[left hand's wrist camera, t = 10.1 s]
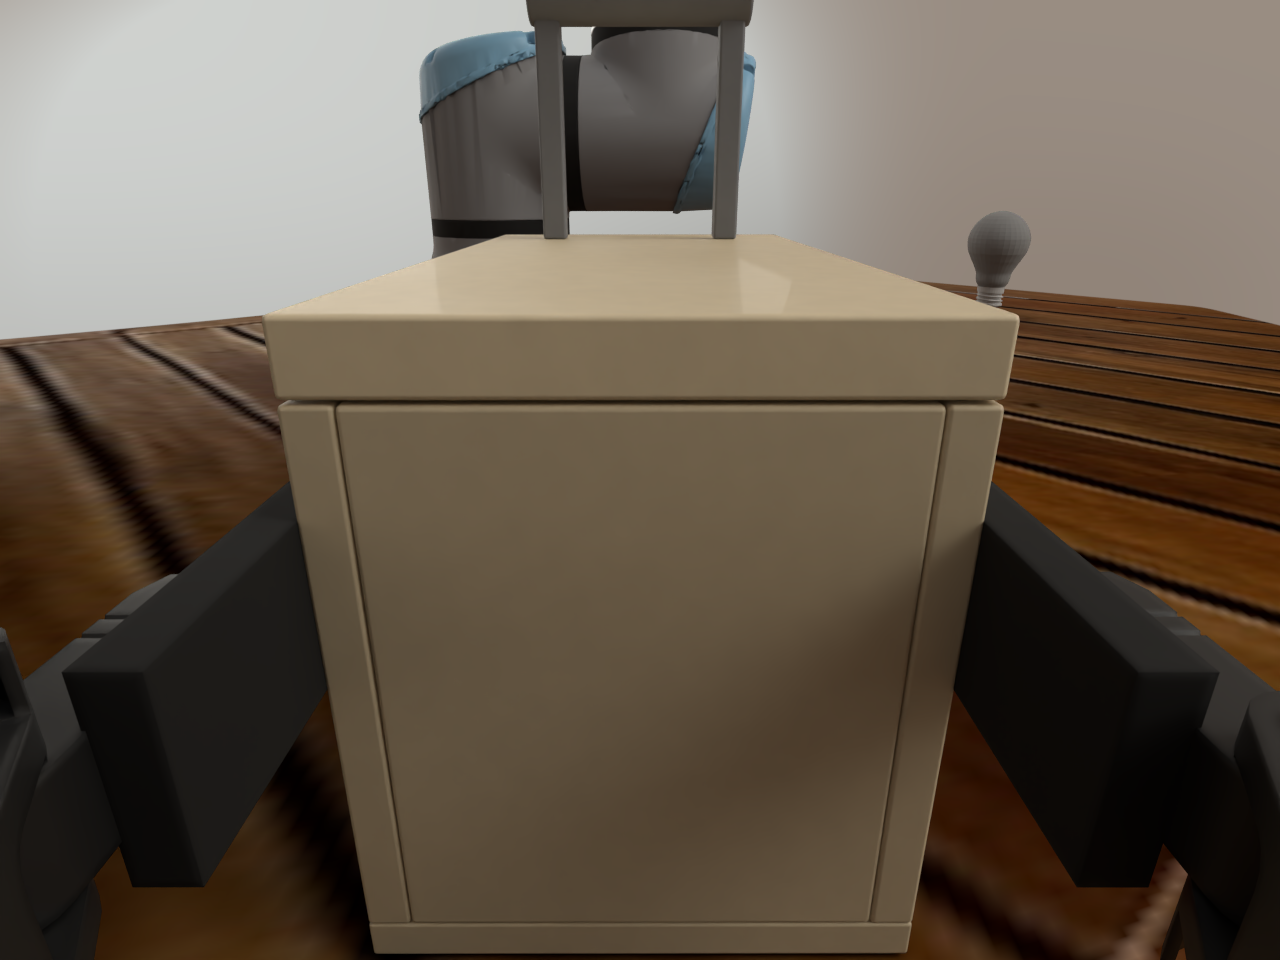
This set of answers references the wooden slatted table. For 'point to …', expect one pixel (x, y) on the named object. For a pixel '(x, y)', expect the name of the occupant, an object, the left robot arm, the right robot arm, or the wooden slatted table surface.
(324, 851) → the wooden slatted table surface
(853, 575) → the chest
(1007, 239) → the light bulb
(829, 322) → the lid
